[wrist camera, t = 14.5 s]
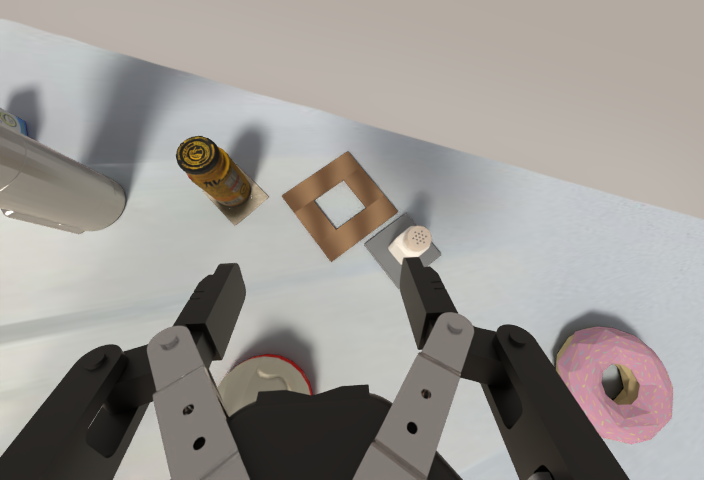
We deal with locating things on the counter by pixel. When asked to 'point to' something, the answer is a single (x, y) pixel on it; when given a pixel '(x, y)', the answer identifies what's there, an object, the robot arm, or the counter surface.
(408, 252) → the salt shaker
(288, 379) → the pompom beanie hat
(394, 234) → the coaster
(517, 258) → the counter surface
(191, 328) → the robot arm
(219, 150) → the condiment
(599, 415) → the donut
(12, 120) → the medicine box
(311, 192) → the square wooden frame
